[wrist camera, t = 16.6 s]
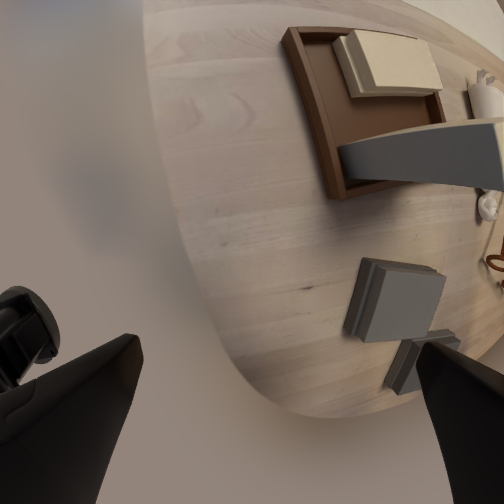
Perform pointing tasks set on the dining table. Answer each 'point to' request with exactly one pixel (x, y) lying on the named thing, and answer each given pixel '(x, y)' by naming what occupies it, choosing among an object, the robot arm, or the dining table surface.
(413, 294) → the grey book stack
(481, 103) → the woman figurine
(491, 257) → the glasses
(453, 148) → the white book
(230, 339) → the dining table surface
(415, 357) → the dark grey book stack
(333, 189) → the book tray
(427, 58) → the white book stack
